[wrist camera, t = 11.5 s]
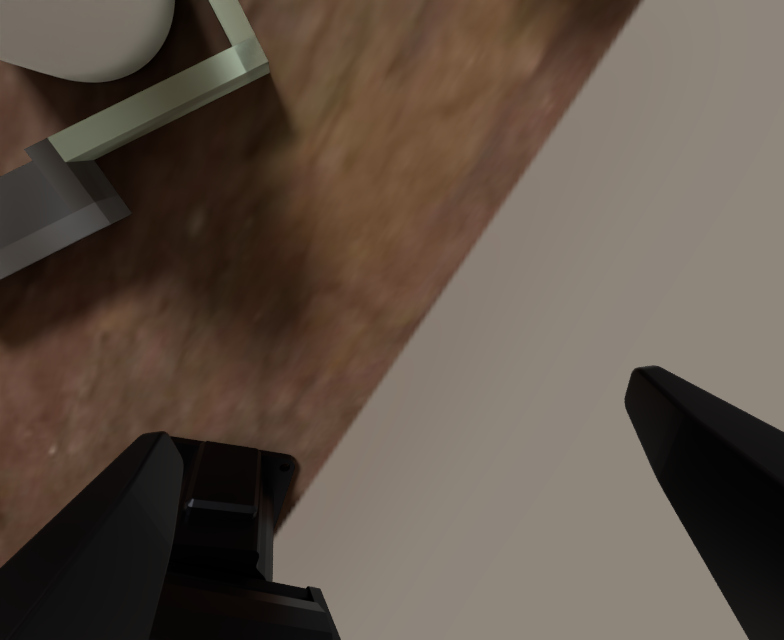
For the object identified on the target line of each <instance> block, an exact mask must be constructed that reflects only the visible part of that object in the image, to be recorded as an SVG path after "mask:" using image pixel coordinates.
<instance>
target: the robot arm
mask: <svg viewBox="0 0 784 640" xmlns="http://www.w3.org/2000/svg"><path fill="white" fill-rule="evenodd" d="M625 407H626V410H627V413H628V415H629V417H630V419H631V422H632V424H633V426H634V429H635V431H636V433H637V435H638V438H639V440H640V442H641V445H642V447H643V449H644V451H645V454H646V456H647V458H648V460H649V463H650V465H651V467H652V469H653V471H654V473H655V475H656V478H657V480H658V482H659V483H660V485H661V487H662V489H663V491H664V493H665V494H666V496H667V498H668V500H669V501H670V503H671V505H672V507H673V508H674V510H675V512H676V514H677V515H678V517H679V519H680V521H681V522H682V524H683V526H684V527H685V529H686V531H687V532H688V534H689V536H690V538H691V540H692V541H693V543H694V545H695V546H696V548H697V550H698V552H699V553H700V555H701V557H702V559H703V560H704V562H705V564H706V565H707V567H708V569H709V571H710V572H711V574H712V576H713V578H714V580H715V581H716V583H717V585H718V586H719V588H720V590H721V592H722V593H723V595H724V597H725V599H726V600H727V602H728V604H729V606H730V607H731V609H732V611H733V613H734V614H735V616H736V618H737V620H738V621H739V623H740V625H741V626H742V628H743V630H744V631H745V633H746V635H747V637H748V639H749V640H784V432H783V431H781V430H779V429H777V428H775V427H773V426H771V425H769V424H767V423H765V422H763V421H762V420H760V419H758V418H756V417H754V416H752V415H750V414H748V413H747V412H745V411H743V410H741V409H739V408H737V407H735V406H733V405H731V404H729V403H728V402H726V401H724V400H722V399H720V398H718V397H716V396H714V395H712V394H711V393H709V392H707V391H705V390H703V389H701V388H699V387H697V386H695V385H694V384H691V383H690V382H688V381H686V380H684V379H682V378H680V377H678V376H676V375H675V374H673V373H671V372H668V371H667V370H665V369H663V368H661V367H659V366H645V367H638V368H635V369H634V370H633V371H632V373H631V377H630V380H629V384H628V388H627V391H626V395H625ZM283 463H287V464H289V465H288V466H286V467H283V466H281V464H283ZM294 469H295V460H294V458H293V457H292V456H291V455H288V454H282V453H276V452H269V451H263V450H258V449H256V448H249V447H243V446H236V445H230V444H223V443H217V442H210V441H206V442H204V441H198V440H191V439H185V438H178V437H172V436H169V434H168V433H166V432H165V431H159V432H151V433H145V434H142V435H141V436H139V437H138V438H137V439H136V440H135V441H134V442H133V443H132V444H131V445H130V446H129V447H128V448H127V449H125V450H124V451H123V452H122V453H121V454H120V455H119V456H118V457H117V458H116V459H115V460H114V461H113V462H112V463H111V464H110V465H109V466H108V467H106V468H105V469H104V470H103V471H102V472H101V473H100V474H99V475H98V476H97V477H96V478H95V479H94V480H93V481H92V482H91V483H90V484H89V485H87V486H86V487H85V488H84V489H83V490H82V491H81V492H80V493H79V494H78V495H77V496H76V497H75V498H74V499H73V500H72V501H71V502H70V503H68V504H67V505H66V506H65V507H64V508H63V509H62V510H61V511H60V512H59V513H58V514H57V515H56V516H55V517H54V518H53V519H52V520H51V521H49V522H48V523H47V524H46V525H45V526H44V527H43V528H42V529H41V530H40V531H39V532H38V533H37V534H36V535H35V536H34V537H33V538H32V539H30V540H29V541H28V542H27V543H26V544H25V545H24V546H23V547H22V548H21V549H20V550H19V551H18V552H17V553H16V554H15V555H14V556H13V557H11V558H10V559H9V560H8V561H7V562H6V563H5V564H4V565H3V566H2V567H1V568H0V640H341V639H340V637H339V634H338V631H337V629H336V626H335V624H334V622H333V619H332V617H331V614H330V612H329V609H328V607H327V604H326V602H325V599H324V597H323V594H322V592H321V589H319V588H315V587H309V586H308V587H307V588H306V589H305V588H300V587H295V586H290V585H285V584H280V583H275V582H272V579H273V577H272V576H273V531H274V528H275V525H276V522H277V519H278V516H279V513H280V510H281V507H282V504H283V502H284V499H285V496H286V493H287V490H288V487H289V484H290V481H291V478H292V475H293V472H294Z"/></svg>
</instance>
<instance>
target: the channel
mask: <svg viewBox="0 0 784 640" xmlns="http://www.w3.org/2000/svg"><path fill="white" fill-rule="evenodd" d="M208 1H209V3H210V5H211V7H212V9H213V11H214V13H215V14H216V16H217V18H218V20H219V22H220V24H221V26H222V28H223V30H224V32H225V34H226V36H227V37H228V39H229V41H230V43H231V45H232V47H231V48H229V49H227V50H225V51H223V52H221V53H219V54H217V55H215V56H213V57H210V58H208V59H206V60H204V61H202V62H200V63H198V64H196V65H194V66H192V67H190V68H188V69H186V70H184V71H182V72H180V73H178V74H176V75H174V76H172V77H170V78H168V79H166V80H164V81H162V82H160V83H158V84H156V85H154V86H152V87H150V88H148V89H145V90H143V91H141V92H139V93H137V94H135V95H133V96H131V97H129V98H127V99H125V100H123V101H121V102H119V103H117V104H115V105H113V106H111V107H109V108H107V109H105V110H103V111H101V112H99V113H97V114H95V115H93V116H91V117H89V118H87V119H85V120H82V121H80V122H78V123H76V124H74V125H72V126H70V127H68V128H66V129H64V130H62V131H60V132H58V133H56V134H54V135H52V136H50V137H48V138H46V139H44V140H42V141H40V142H38V143H36V144H34V145H32V146H30V147H28V148H26V149H24V150H25V151H26V153H27V154H28V155H29V156H30V158H31V159H32V160H33V161H31V162H29V163H27V164H25V165H23V166H21V167H19V168H17V169H15V170H13V171H11V172H9V173H7V174H5V175H3V176H1V177H0V280H2V279H4V278H6V277H8V276H10V275H12V274H14V273H16V272H18V271H20V270H22V269H24V268H26V267H28V266H30V265H32V264H34V263H36V262H38V261H40V260H42V259H44V258H46V257H48V256H50V255H52V254H54V253H56V252H58V251H59V250H61V249H63V248H65V247H67V246H69V245H71V244H73V243H75V242H77V241H79V240H81V239H83V238H85V237H87V236H89V235H91V234H93V233H95V232H97V231H99V230H101V229H103V228H105V227H107V226H109V225H111V224H113V223H115V222H117V221H119V220H121V219H123V218H125V217H127V216H129V215H131V214H132V213H131V211H130V210H129V209H128V207H127V206H126V204H125V203H124V202H123V200H122V199H121V197H120V196H119V195H118V193H117V192H116V190H115V189H114V187H113V186H112V185H111V183H110V182H109V180H108V179H107V178H106V176H105V175H104V173H103V172H102V171H101V169H100V168H99V166H98V165H97V163H96V162H95V161H94V160H95V159H97V158H99V157H101V156H103V155H105V154H107V153H109V152H111V151H113V150H115V149H117V148H119V147H121V146H123V145H125V144H127V143H129V142H131V141H133V140H135V139H137V138H139V137H141V136H143V135H145V134H147V133H149V132H152V131H154V130H156V129H158V128H160V127H162V126H164V125H166V124H168V123H170V122H172V121H174V120H176V119H178V118H180V117H182V116H184V115H186V114H188V113H190V112H192V111H194V110H196V109H198V108H200V107H202V106H204V105H206V104H208V103H210V102H212V101H214V100H216V99H218V98H220V97H222V96H224V95H226V94H228V93H230V92H232V91H234V90H236V89H238V88H240V87H242V86H244V85H246V84H248V83H250V82H252V81H254V80H256V79H258V78H260V77H262V76H264V75H266V74H268V73H270V70H269V63H268V60H267V58H266V56H265V54H264V52H263V50H262V48H261V46H260V44H259V42H258V40H257V38H256V36H255V34H254V32H253V30H252V28H251V26H250V24H249V22H248V20H247V18H246V16H245V14H244V12H243V10H242V8H241V6H240V4H239V2H238V0H208Z"/></svg>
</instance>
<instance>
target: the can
mask: <svg viewBox="0 0 784 640" xmlns="http://www.w3.org/2000/svg"><path fill="white" fill-rule="evenodd" d="M174 7H175V0H0V60H1V61H4V62H7V63H11V64H14V65H17V66H21V67H24V68H27V69H31V70H34V71H37V72H41V73H44V74H48V75H51V76H55V77H59V78H63V79H67V80H72V81H78V82H107V81H112V80H116V79H120V78H123V77H126V76H128V75H130V74H132V73H134V72H136V71H138V70H139V69H141V68H142V67H143V66H145V65H146V64H147V63H148V62H149V61H150V60H151V59H152V58H153V57H154V56H155V55H156V54H157V52H158V51H159V50H160V48H161V47H162V45H163V43H164V41H165V40H166V37H167V35H168V33H169V30H170V27H171V24H172V20H173V15H174Z"/></svg>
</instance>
